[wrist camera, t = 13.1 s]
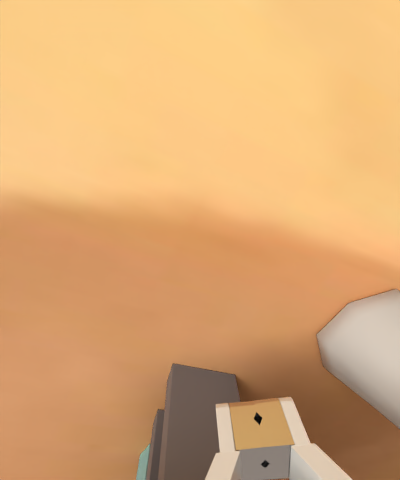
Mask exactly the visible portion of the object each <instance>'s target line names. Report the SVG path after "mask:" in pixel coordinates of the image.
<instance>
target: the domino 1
mask: <svg viewBox="0 0 400 480" xmlns="http://www.w3.org/2000/svg"><path fill="white" fill-rule="evenodd" d="M164 411H165V410H159V409H158V411H157V414H156V417H155V420H154V423H153V430H152V438H151V445H150V453H149V461H148V468H147V476H146V480H158V473H159V463H160V453H161V442H162V432H163V421H164Z"/></svg>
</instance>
